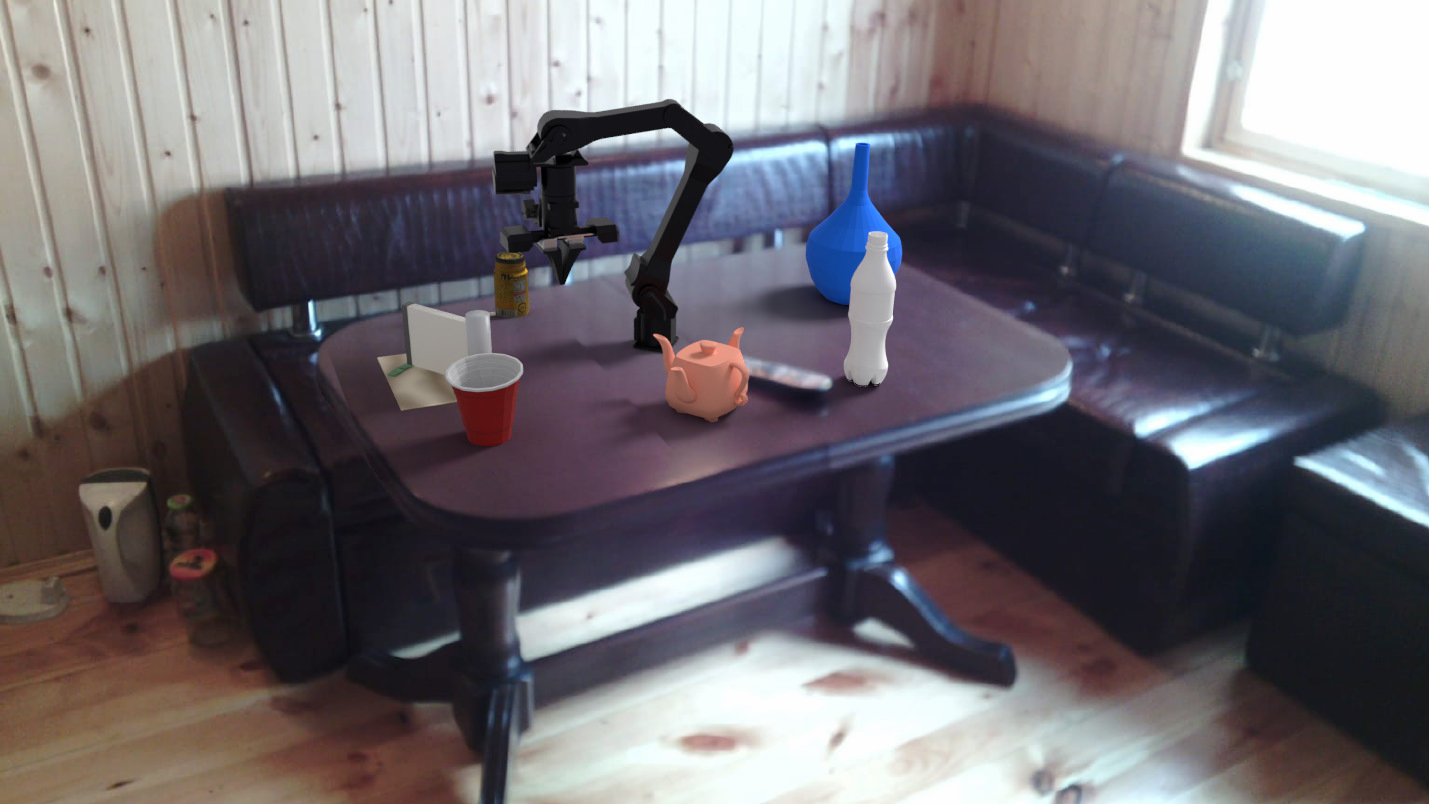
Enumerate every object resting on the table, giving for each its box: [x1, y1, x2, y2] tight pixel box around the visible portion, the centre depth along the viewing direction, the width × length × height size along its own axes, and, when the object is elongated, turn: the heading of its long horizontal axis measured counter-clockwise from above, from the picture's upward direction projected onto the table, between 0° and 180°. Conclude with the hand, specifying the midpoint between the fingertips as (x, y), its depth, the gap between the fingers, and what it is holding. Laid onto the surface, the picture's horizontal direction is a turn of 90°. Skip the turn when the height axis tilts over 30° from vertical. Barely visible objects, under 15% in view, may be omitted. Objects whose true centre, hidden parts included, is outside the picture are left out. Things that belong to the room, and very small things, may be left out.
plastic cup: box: [446, 352, 524, 447], centre depth 165 cm, size 11×11×12 cm
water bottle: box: [843, 231, 897, 386], centre depth 185 cm, size 7×7×25 cm
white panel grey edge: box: [401, 300, 493, 375], centre depth 181 cm, size 17×4×12 cm, turn 59°
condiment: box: [488, 250, 530, 319], centre depth 208 cm, size 7×8×12 cm
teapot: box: [653, 326, 750, 422], centre depth 177 cm, size 14×14×11 cm
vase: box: [805, 142, 903, 306], centre depth 219 cm, size 18×18×30 cm
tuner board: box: [376, 353, 457, 412], centre depth 185 cm, size 16×21×2 cm
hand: (561, 284), depth 193 cm, fingers closed
